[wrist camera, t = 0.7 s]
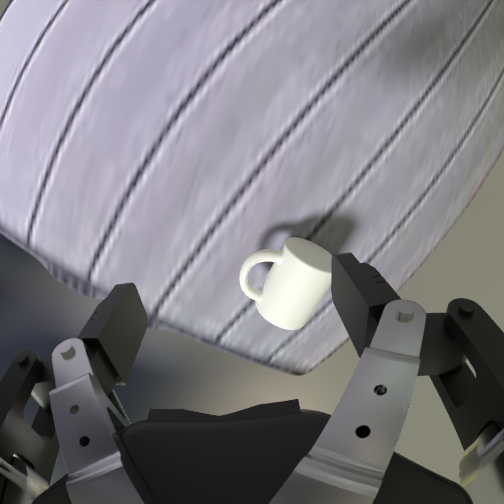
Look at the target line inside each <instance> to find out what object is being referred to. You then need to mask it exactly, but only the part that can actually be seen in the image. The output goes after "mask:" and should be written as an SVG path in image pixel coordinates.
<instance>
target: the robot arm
mask: <svg viewBox="0 0 504 504" xmlns="http://www.w3.org/2000/svg"><path fill="white" fill-rule="evenodd" d="M331 292H332V299H333V303H334V305H335V307H336V309H337V311H338V313H339V315H340V317H341V319H342V322H343V324H344V326H345V328H346V330H347V332H348V334H349V336H350V338H351V340H352V342H353V345H354V347H355V349H356V351H357V353H358V355H359V357H360V360H359V362H358V365H357V367H356V369H355V371H354V373H353V375H352V377H351V379H350V381H349V383H348V385H347V387H346V389H345V391H344V393H343V396H342V397H341V399H340V401H339V403H338V405H337V407H336V409H335V410H334V412H333V414H332V415H330V414H326V413H323V412H318V411H314V410H306V409H300V406H299V402H298V399H295V400H289V401H283V402H275V403H267V404H260V405H256V406H253V407H250V408H247V409H244V410H240V411H237V412H233V413H230V414H227V415H222V416H216V415H210V414H205V413H199V412H194V411H189V410H184V409H150V411H149V415H148V419H146V420H142V421H139V422H136V423H134V424H131V423H130V421H129V420H128V418H127V416H126V414H125V412H124V410H123V408H122V406H121V404H120V402H119V400H118V398H117V395H116V394H115V392H114V391H113V386H114V385H126V383H127V380H128V378H129V374H130V372H131V369H132V366H133V363H134V361H135V358H136V355H137V352H138V350H139V347H140V345H141V342H142V339H143V337H144V334H145V332H146V329H147V325H148V320H147V314H146V311H145V309H144V306H143V304H142V301H141V299H140V296H139V293H138V291H137V288H136V286H135V284H134V283H125V284H117V285H115V286H114V288H113V289H112V291H111V292H110V294H109V295H108V297H107V298H105V299H104V300H103V301H102V302H101V303H100V304H99V305H98V306H97V308H96V309H95V311H94V313H93V314H92V316H91V317H90V320H88V321H87V323H86V325H85V326H84V328H83V329H82V331H81V332H80V334H79V336H78V337H77V339H76V338H74V339H69V340H66V341H64V342H63V343H61V344H60V345H59V346H57V347H56V349H55V350H54V352H53V354H52V357H49V358H45V359H40V357H39V356H38V354H37V353H36V351H35V350H33V349H27V350H25V351H22V352H21V353H19V354H18V355H17V356H16V357H15V358H14V360H13V362H12V363H11V365H10V366H9V368H8V369H7V371H6V373H5V375H4V376H3V378H2V380H1V381H0V504H504V333H503V331H502V330H501V329H500V328H499V327H498V326H497V324H496V323H495V322H494V321H493V320H492V319H491V317H490V316H489V315H488V314H487V313H486V312H485V311H484V310H483V309H482V307H481V306H479V305H478V304H477V303H476V302H474V301H472V300H469V299H464V298H458V299H454V300H452V301H451V302H450V303H449V304H448V307H447V311H446V313H426V312H425V310H424V308H423V307H422V306H421V305H419V304H418V303H416V302H414V301H410V300H405V299H403V300H402V299H401V298H400V297H399V296H398V295H397V293H396V292H395V291H394V290H393V288H392V287H391V286H390V285H389V284H388V282H386V280H385V279H384V278H383V277H382V276H381V274H380V273H379V272H378V271H377V270H376V268H374V267H373V266H371V265H369V264H367V263H359V261H358V260H357V259H356V258H355V256H354V255H353V254H352V253H344V254H337V255H333V256H332V259H331ZM466 359H468V360H469V362H470V363H471V365H472V366H473V368H474V370H475V372H476V378H475V376H474V374H473V373H472V371H471V370H470V368H469V367H468V365H467V364H466V362H465V361H466ZM425 375H429V376H430V378H431V380H432V382H433V384H434V386H435V388H436V390H437V392H438V394H439V396H440V398H441V400H442V402H443V404H444V406H445V408H446V410H447V412H448V414H449V417H450V419H451V421H452V423H453V425H454V427H455V430H456V432H457V434H458V437H459V439H460V441H461V444H462V446H463V448H464V453H463V454H462V457H461V459H460V465H459V469H460V472H459V477H460V479H461V480H460V484H457V483H456V482H454V481H451V480H449V479H447V478H445V477H443V476H440V475H439V474H436V473H435V472H432V471H430V470H428V469H426V468H424V467H423V466H420V465H419V464H417V463H415V462H413V461H411V460H409V459H407V458H405V457H404V456H402V455H400V454H398V453H396V452H395V451H394V449H395V447H396V444H397V441H398V439H399V436H400V433H401V430H402V427H403V424H404V421H405V418H406V415H407V412H408V408H409V405H410V401H411V398H412V394H413V390H414V387H415V383H416V379H417V376H425ZM30 395H32V396H33V397H34V399H35V400H36V401H37V402H38V403H39V405H40V407H39V410H38V412H37V414H36V416H35V419H34V421H33V424H32V426H31V427H30V426H29V425H28V424H27V423H26V421H25V419H24V416H23V410H24V407H25V405H26V403H27V401H28V399H29V397H30ZM59 448H60V449H61V452H62V456H63V459H64V463H65V466H66V469H67V472H68V473H67V474H66V475H65V476H63V477H62V478H61V479H60V480H58V481H57V482H56V483H54V484H53V485H52V486H51V487H49V484H50V480H51V476H52V472H53V469H54V465H55V461H56V458H57V454H58V451H59Z"/></svg>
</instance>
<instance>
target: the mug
mask: <svg viewBox="0 0 504 504" xmlns="http://www.w3.org/2000/svg"><path fill="white" fill-rule="evenodd" d="M331 259H332V255H331V254H330V253H329V252H327V251H326V250H325V249H323V248H322V247H320V246H318V245H317V244H315V243H313V242H310V241H308V240H305V239H302V238H297V237H290V238H287V239H286V240H285V241H284V243H283V245H282V247H281V249H280V251H279V250H273V249H264V250H259V251H256V252H254V253H252V254H251V255H250V256H248V257H247V259H246V260H245V261H244V263H243V265H242V268H241V271H240V285H241V288H242V290H243V292H244V293H245V294H246V295H247V296H248V297H250V298H252V299H254V300H256V306H257V309H258V311H259V312H260V314H261V315H262V316H263V317H264V318H265V319H266V320H268V321H269V322H270V323H272V324H274V325H275V326H278V327H280V328H283V329H288V330H295V329H299V328H301V327H303V326H304V325H305V323H306V322H307V320H308V319H309V317H310V316H311V314H312V313H313V311H314V310H315V308H316V307H317V305H318V304H319V302H320V301H321V299H322V297H323V296H324V294H325V293H326V291H327V290H328V288H329V286H330V285H331ZM265 261H270V262H274V263H273V265H272V267H271V269H270V271H269V273H268V275H267V277H266V279H265V281H264V283H263V285H262V287H261V289H260V290H258V289H255V288H253V287H252V286H250V285H249V283H248V280H247V278H248V273H249V271H250V269H251V267H252V266H253V265H255V264H257V263H259V262H265Z"/></svg>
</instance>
